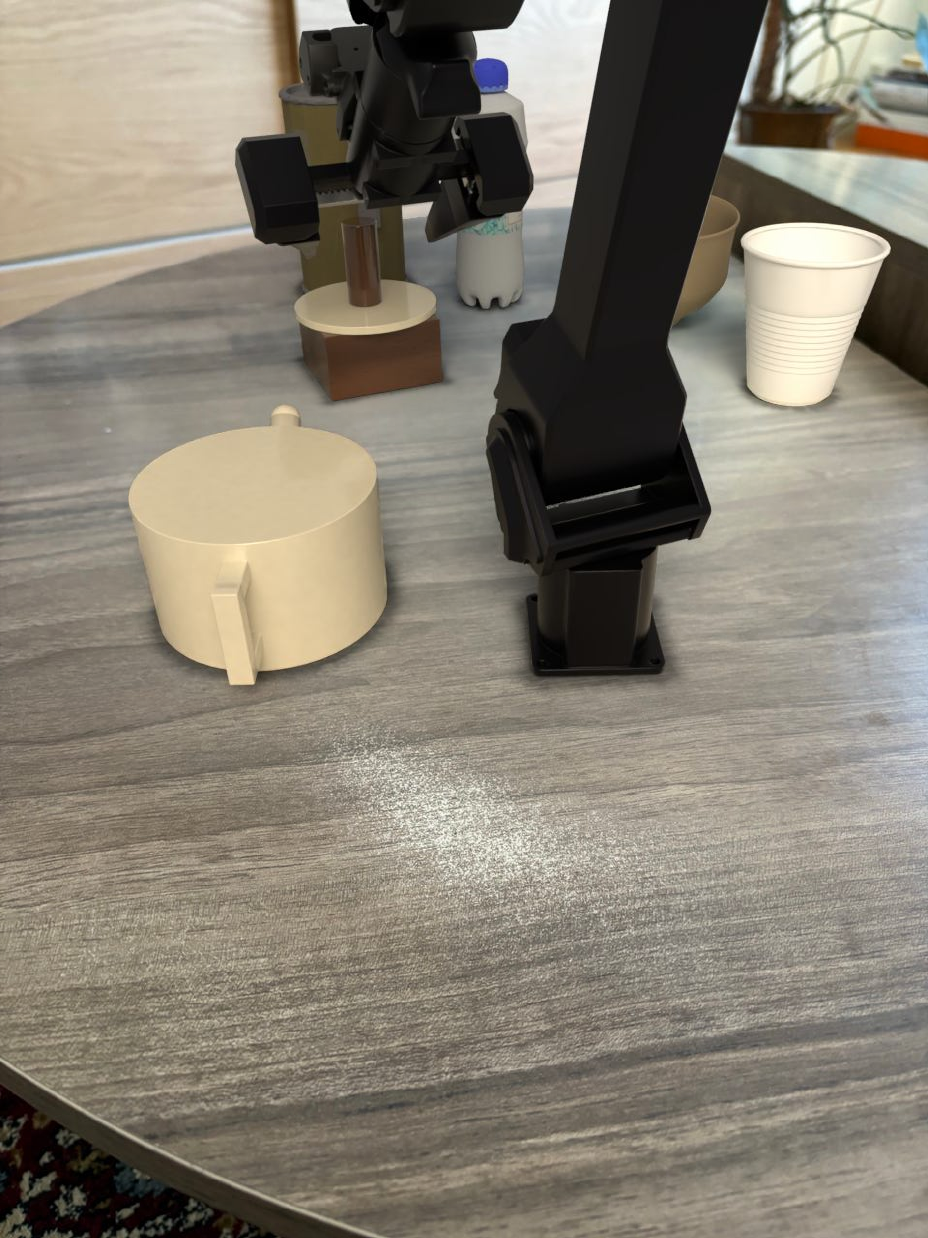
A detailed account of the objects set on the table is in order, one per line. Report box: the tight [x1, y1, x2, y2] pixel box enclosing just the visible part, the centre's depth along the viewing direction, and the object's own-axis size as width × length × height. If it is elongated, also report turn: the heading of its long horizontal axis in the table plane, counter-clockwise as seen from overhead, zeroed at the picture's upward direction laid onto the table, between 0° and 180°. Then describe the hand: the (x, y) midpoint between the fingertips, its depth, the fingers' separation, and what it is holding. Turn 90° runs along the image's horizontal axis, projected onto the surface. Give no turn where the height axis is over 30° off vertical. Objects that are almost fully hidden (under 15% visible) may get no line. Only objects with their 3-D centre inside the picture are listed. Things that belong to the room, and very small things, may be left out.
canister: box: [278, 82, 409, 294], centre depth 91 cm, size 11×10×20 cm
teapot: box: [127, 403, 388, 686], centre depth 53 cm, size 20×12×8 cm, turn 0°
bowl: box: [672, 194, 741, 327], centre depth 84 cm, size 13×13×10 cm
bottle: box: [451, 57, 529, 310], centre depth 87 cm, size 7×7×20 cm
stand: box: [298, 313, 443, 402], centre depth 79 cm, size 9×9×5 cm
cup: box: [740, 222, 892, 407], centre depth 72 cm, size 10×10×11 cm
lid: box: [294, 217, 438, 335], centre depth 75 cm, size 11×11×7 cm
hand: (369, 244), depth 72 cm, fingers open, 9 cm apart
